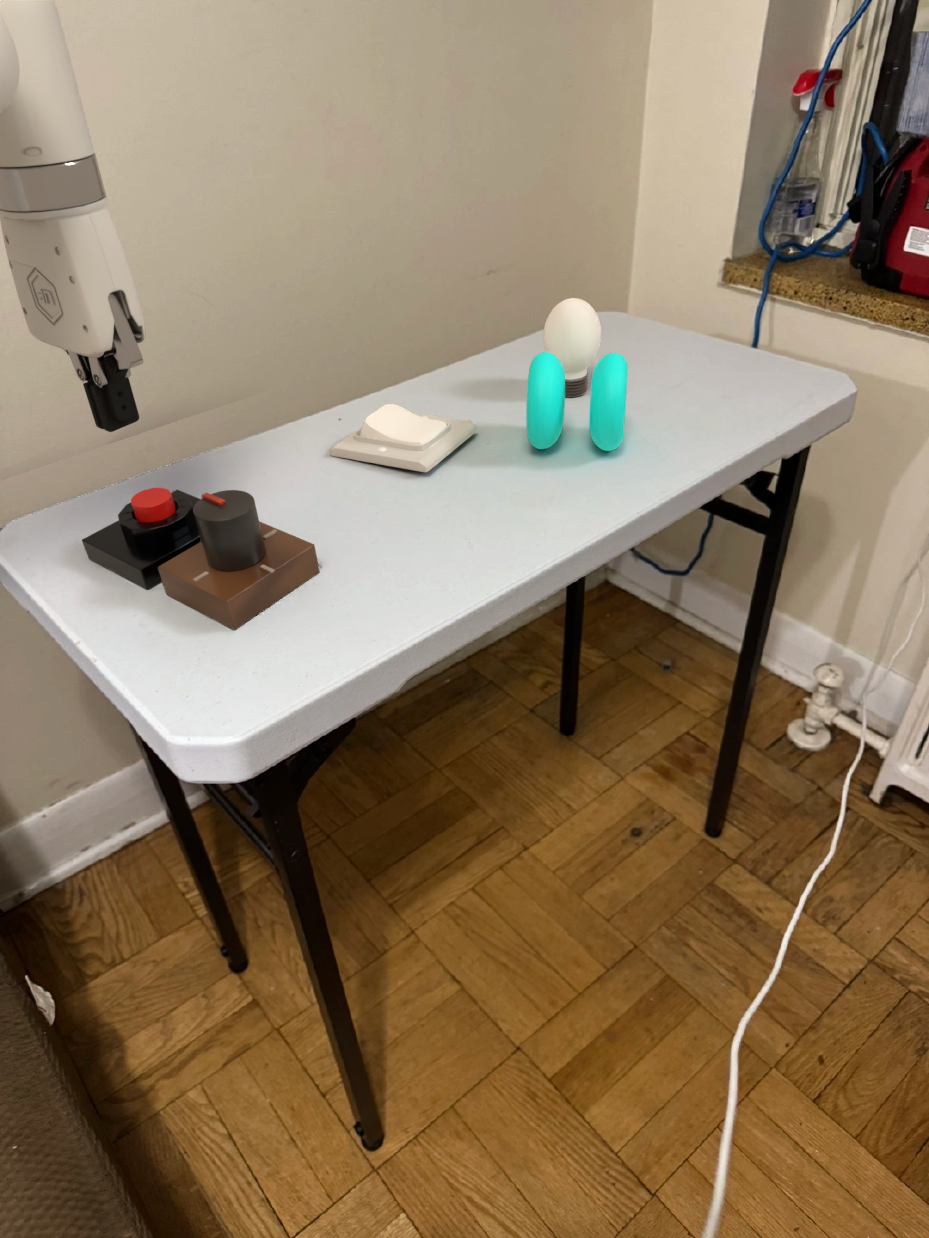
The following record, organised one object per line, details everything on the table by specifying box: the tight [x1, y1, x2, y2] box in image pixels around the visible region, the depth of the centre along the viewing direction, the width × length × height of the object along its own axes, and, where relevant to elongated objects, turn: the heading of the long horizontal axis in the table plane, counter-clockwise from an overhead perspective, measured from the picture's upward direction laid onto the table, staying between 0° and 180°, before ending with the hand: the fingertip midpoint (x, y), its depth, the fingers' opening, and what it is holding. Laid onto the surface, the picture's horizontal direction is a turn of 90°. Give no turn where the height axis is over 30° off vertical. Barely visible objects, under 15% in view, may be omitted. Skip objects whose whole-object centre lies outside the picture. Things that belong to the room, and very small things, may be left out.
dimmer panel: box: [158, 520, 320, 631], centre depth 76 cm, size 10×9×3 cm
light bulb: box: [543, 297, 602, 398], centre depth 102 cm, size 7×7×11 cm
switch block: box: [81, 489, 202, 591], centre depth 81 cm, size 11×9×4 cm
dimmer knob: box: [193, 489, 266, 571], centre depth 73 cm, size 5×5×5 cm
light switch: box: [329, 403, 478, 473], centre depth 95 cm, size 11×4×13 cm
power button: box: [130, 487, 176, 522], centre depth 79 cm, size 4×4×2 cm
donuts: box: [525, 351, 628, 452], centre depth 91 cm, size 10×10×10 cm
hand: (118, 424), depth 73 cm, fingers closed
